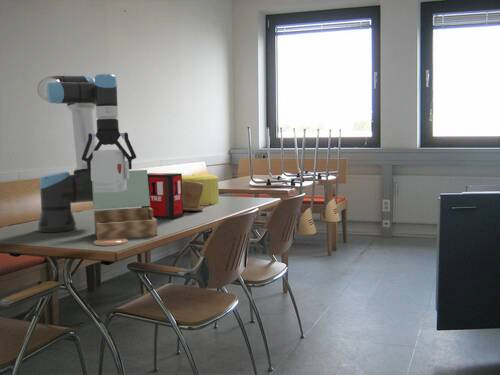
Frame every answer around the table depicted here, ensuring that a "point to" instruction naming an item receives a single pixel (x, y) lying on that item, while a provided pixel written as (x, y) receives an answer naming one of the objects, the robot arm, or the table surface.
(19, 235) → the table surface
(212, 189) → the cheese
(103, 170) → the supplement box
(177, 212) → the cleaning product box
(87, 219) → the table surface
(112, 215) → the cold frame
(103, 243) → the tan round disc
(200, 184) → the brown tapered block
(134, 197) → the sage green board
